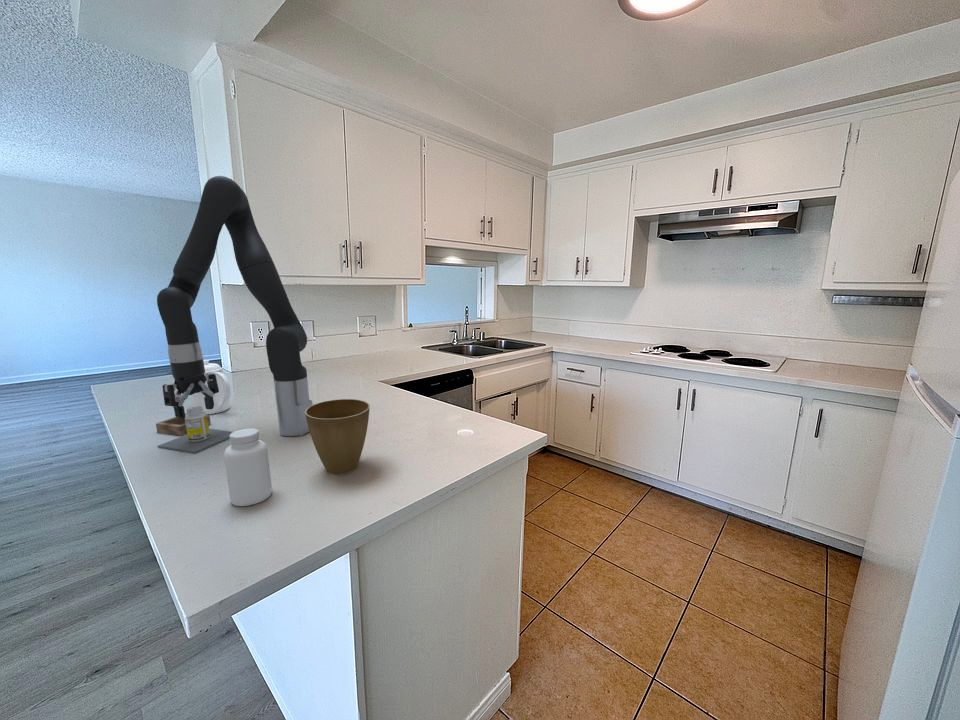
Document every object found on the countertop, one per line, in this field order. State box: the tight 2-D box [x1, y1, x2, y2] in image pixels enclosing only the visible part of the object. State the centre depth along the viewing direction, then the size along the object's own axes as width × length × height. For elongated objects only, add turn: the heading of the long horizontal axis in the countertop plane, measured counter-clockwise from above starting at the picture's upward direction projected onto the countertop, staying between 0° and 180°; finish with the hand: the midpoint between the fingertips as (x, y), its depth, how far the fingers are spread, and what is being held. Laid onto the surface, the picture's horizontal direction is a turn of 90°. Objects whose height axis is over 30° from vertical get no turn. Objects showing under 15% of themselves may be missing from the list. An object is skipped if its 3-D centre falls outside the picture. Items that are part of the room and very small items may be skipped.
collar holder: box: [155, 412, 212, 437], centre depth 123 cm, size 10×10×3 cm
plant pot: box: [305, 398, 371, 476], centre depth 96 cm, size 15×15×16 cm
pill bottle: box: [223, 427, 273, 507], centre depth 83 cm, size 8×8×15 cm
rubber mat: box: [157, 428, 234, 455], centre depth 114 cm, size 14×14×1 cm
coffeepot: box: [192, 359, 231, 416], centre depth 139 cm, size 11×25×19 cm, turn 62°
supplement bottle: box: [185, 406, 210, 442], centre depth 113 cm, size 5×5×10 cm
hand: (196, 413), depth 112 cm, fingers open, 8 cm apart
